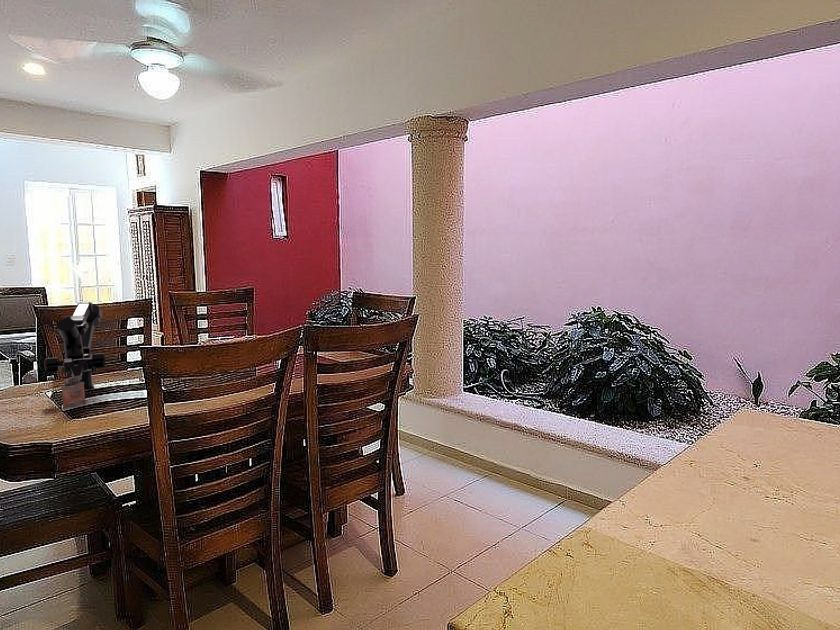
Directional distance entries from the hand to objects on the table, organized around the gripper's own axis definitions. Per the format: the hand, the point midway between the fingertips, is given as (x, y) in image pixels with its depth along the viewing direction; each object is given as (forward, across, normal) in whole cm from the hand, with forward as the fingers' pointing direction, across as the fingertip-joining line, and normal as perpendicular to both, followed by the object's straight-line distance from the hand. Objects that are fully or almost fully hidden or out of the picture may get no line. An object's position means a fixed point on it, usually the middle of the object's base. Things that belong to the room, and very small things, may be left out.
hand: (77, 382), depth 203 cm
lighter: (+8, +2, -3) cm, 9 cm away
